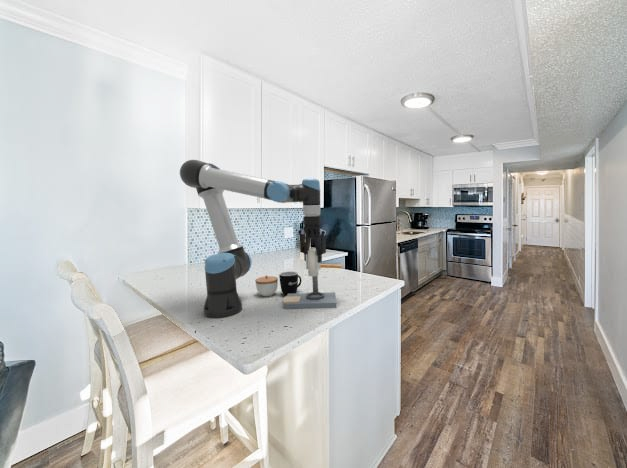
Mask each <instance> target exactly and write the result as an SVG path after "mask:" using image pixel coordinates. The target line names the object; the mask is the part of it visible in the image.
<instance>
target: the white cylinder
mask: <svg viewBox="0 0 627 468" xmlns="http://www.w3.org/2000/svg"><path fill="white" fill-rule="evenodd" d="M316 254H317V252H316V249H309V250H308V269H307V272H308V274H307V275H308V277H312V276H318V277H319V270H316V258H315V255H316Z"/></svg>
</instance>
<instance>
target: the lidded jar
mask: <svg viewBox="0 0 627 468" xmlns="http://www.w3.org/2000/svg"><path fill="white" fill-rule="evenodd" d="M278 279H279V278H278V277H276V276H271V275H267V274H266V275H264V276H262V277H258V278H255V287H256V291H257V293H258V294H260V296H262V297H272V296H274V294H275V293H276V291H277V290H278Z"/></svg>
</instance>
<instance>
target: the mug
mask: <svg viewBox="0 0 627 468" xmlns="http://www.w3.org/2000/svg"><path fill="white" fill-rule="evenodd" d="M278 277H279V278H278V279H279V285H280V289H281V293H282V295H284V297H287V294H291V293H298V288H299V287H300V286H301V284H302V277H301V276H300V275H299V273H298V271H283V272H280V273H279V275H278Z"/></svg>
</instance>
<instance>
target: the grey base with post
mask: <svg viewBox="0 0 627 468" xmlns="http://www.w3.org/2000/svg"><path fill="white" fill-rule="evenodd" d="M311 277H312V278H311V279H312V292H296V293H291V294H287V296H284V298H283V300H282V307H283V309H285V310H286V309H288V310H290V309H326V308H327V309H328V308H329V309H330V308H332V309H333V308H336V307H337V298H336V297H337V296H336V292H335V291H333V292H331V291H330V292H320V291H319V280H318V278H319V275H318V276H311Z"/></svg>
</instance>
